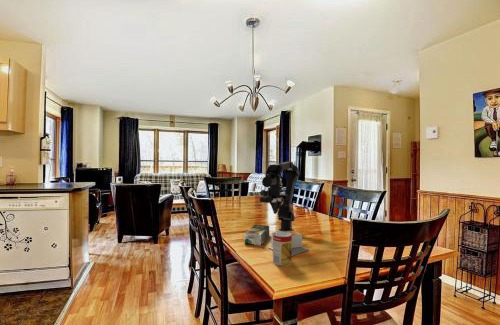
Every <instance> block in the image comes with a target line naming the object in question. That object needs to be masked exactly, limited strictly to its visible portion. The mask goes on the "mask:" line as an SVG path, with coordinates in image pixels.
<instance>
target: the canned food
mask: <svg viewBox="0 0 500 325" xmlns="http://www.w3.org/2000/svg"><path fill="white" fill-rule="evenodd" d="M272 233H273V250H272V263H273V264H274V263H275V264H274V265H276V264H277V265H276V266H279V265H281V266H282V267H287V265H288V266H291V265H292V263H293V262H292V261H293V256H292V234H291V233H290V232H285V231H282V230H279V231H275V232H272ZM281 266H280V267H281Z"/></svg>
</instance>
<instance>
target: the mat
mask: <svg viewBox="0 0 500 325" xmlns="http://www.w3.org/2000/svg"><path fill="white" fill-rule="evenodd" d="M268 249H269V250H271V249H272V251H273V246H272V245H271V246H268ZM308 251H310V250H309V248H305V247H303V246H302V247H296V248H292V257H294V256H297V255H298V254H299V255H300V254H303V253H306V252H308Z"/></svg>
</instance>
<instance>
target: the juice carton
mask: <svg viewBox="0 0 500 325" xmlns="http://www.w3.org/2000/svg"><path fill="white" fill-rule="evenodd" d="M269 236H270V226H269V225H265V224H264V225H262V224H253V226H251V227H250V228H249V229H248V230H247V231H246V232H245V233H244V234H243V244H244V243H245V244H244V245H246V244H249V245H251V244H254V245H253V246H262V245H263V244H264V243H265V241H266V240H267V239H268V237H269ZM261 244H262V245H261Z"/></svg>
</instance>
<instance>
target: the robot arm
mask: <svg viewBox="0 0 500 325" xmlns="http://www.w3.org/2000/svg"><path fill="white" fill-rule="evenodd" d="M267 166H268V167H267V168H266V172H265V173H264V174H265V176H264V177H263V178H262V181H261V184H262V186H263V187H265V188H267V190H265V189H261V190H260V195H261V196H260V197H259V203H264V204H269V205H270V207H271V209H272V212H273V214H274V215H276V214H277V217H278V218H277V219H278V220H279V221H280V228H279V231H292V230H294V231H295V229H294V228H293V222H295V218H296V216H295V215H294V212H293V210H294V209H293V207H292V202H293V201H292V200H293V196H294V188H295V184H296V182H297V181H298V180H299V178H300V174H301V173H300V169H299V167H298V166H297V165H295V164H294V162H293V161H285V162H281V163H277V162H275V163H271V162H270V163H269V164H268V165H267ZM282 173H284V174H285V178H286V185H285V191H284V193H281V191H282V190H283V187H281V178H282V175H281V174H282ZM282 200H283V201H282Z"/></svg>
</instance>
